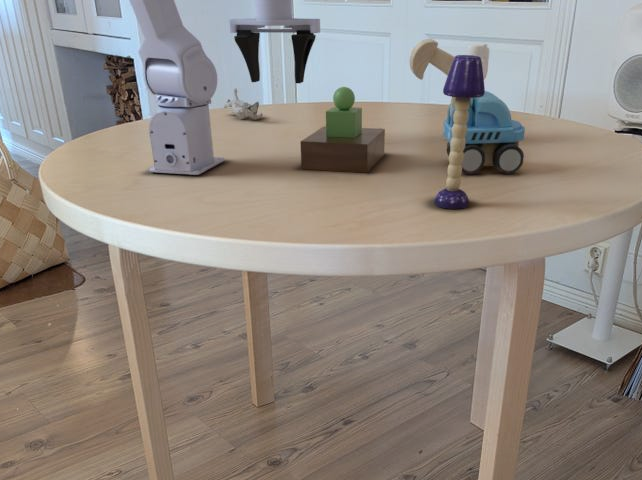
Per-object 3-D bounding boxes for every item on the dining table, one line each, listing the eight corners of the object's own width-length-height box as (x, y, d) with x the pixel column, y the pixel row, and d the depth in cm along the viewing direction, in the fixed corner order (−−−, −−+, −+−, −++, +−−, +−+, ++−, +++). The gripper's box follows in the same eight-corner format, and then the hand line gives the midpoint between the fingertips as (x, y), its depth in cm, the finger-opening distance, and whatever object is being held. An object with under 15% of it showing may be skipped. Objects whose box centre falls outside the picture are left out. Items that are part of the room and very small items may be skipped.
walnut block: (367, 172, 95) (367, 144, 93) (301, 169, 98) (300, 141, 96) (384, 154, 105) (384, 128, 103) (324, 151, 108) (323, 126, 106)
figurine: (443, 142, 113) (449, 45, 106) (456, 132, 121) (463, 41, 113) (485, 145, 111) (494, 46, 103) (496, 134, 118) (505, 42, 111)
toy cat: (250, 118, 142) (278, 105, 132) (239, 136, 141) (267, 125, 131) (221, 93, 137) (248, 78, 128) (210, 111, 136) (237, 98, 127)
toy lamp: (469, 199, 83) (482, 53, 75) (477, 209, 79) (492, 57, 71) (431, 199, 83) (440, 54, 75) (437, 210, 79) (448, 58, 71)
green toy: (354, 138, 97) (354, 89, 94) (326, 136, 98) (325, 88, 95) (361, 132, 101) (362, 85, 98) (334, 131, 102) (333, 84, 99)
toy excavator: (402, 162, 101) (407, 37, 92) (511, 160, 101) (526, 35, 93) (409, 176, 93) (415, 41, 85) (526, 174, 94) (544, 40, 85)
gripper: (325, -14, 103) (326, 80, 110) (239, -13, 107) (245, 78, 113) (311, -14, 97) (314, 85, 104) (220, -13, 101) (229, 83, 107)
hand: (277, 82), depth 108 cm, fingers open, 7 cm apart
